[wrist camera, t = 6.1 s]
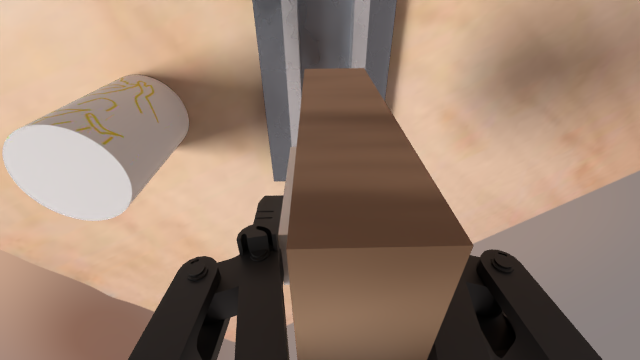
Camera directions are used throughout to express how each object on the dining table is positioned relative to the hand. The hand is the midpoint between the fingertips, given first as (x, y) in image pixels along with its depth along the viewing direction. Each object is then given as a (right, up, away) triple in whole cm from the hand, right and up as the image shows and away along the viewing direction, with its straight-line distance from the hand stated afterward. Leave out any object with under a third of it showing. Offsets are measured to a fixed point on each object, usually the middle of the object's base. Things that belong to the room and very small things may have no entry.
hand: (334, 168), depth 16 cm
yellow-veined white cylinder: (-19, +6, +15) cm, 25 cm away
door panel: (0, +1, +1) cm, 2 cm away
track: (0, +9, +13) cm, 16 cm away
